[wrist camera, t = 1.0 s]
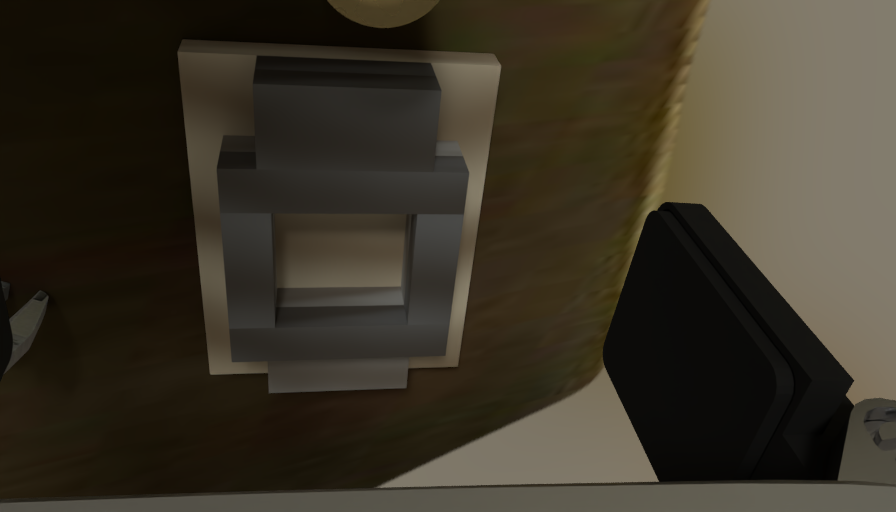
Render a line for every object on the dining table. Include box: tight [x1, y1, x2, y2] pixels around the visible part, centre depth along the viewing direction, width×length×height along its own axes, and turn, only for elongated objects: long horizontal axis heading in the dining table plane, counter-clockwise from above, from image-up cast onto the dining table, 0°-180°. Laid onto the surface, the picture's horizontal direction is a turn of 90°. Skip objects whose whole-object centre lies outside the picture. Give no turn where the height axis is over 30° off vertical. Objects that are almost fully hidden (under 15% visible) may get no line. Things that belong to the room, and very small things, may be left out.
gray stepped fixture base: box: [177, 39, 501, 393], centre depth 35 cm, size 17×13×4 cm
